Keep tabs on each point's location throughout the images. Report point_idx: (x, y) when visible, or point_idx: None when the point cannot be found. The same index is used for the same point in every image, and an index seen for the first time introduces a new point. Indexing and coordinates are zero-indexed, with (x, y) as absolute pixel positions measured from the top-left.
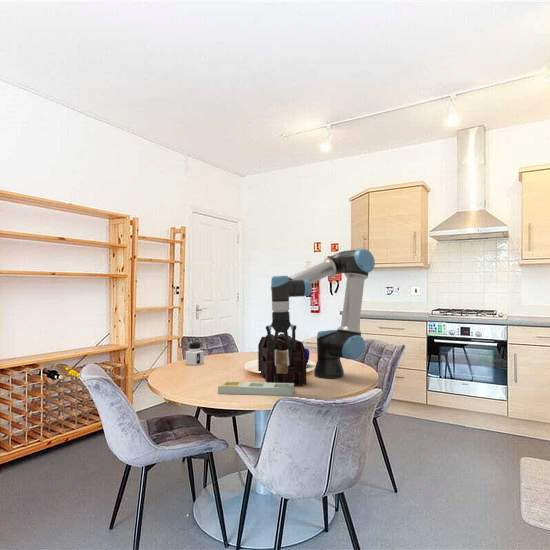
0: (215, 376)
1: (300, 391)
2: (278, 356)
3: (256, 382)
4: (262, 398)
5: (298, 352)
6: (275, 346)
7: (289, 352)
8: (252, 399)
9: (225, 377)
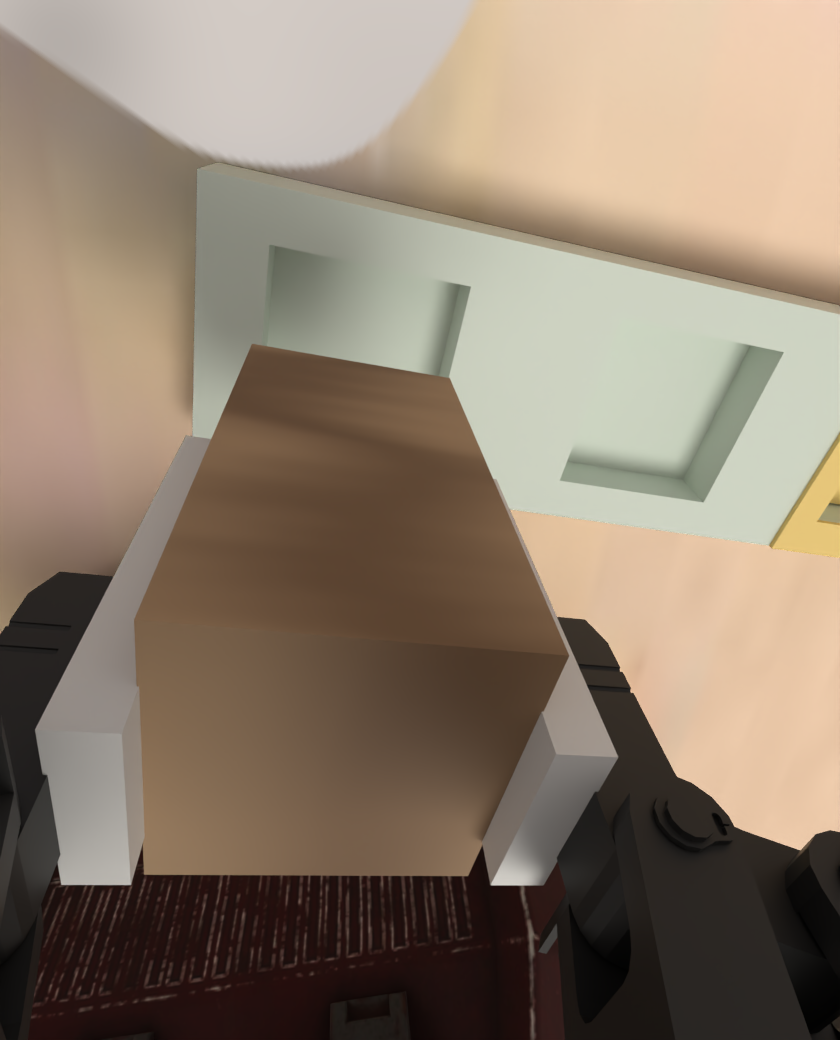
0: (824, 814)
1: (126, 368)
2: (453, 551)
3: (639, 520)
4: (630, 51)
5: (41, 1011)
6: (584, 992)
7: (35, 699)
8: (772, 8)
9: (766, 796)
